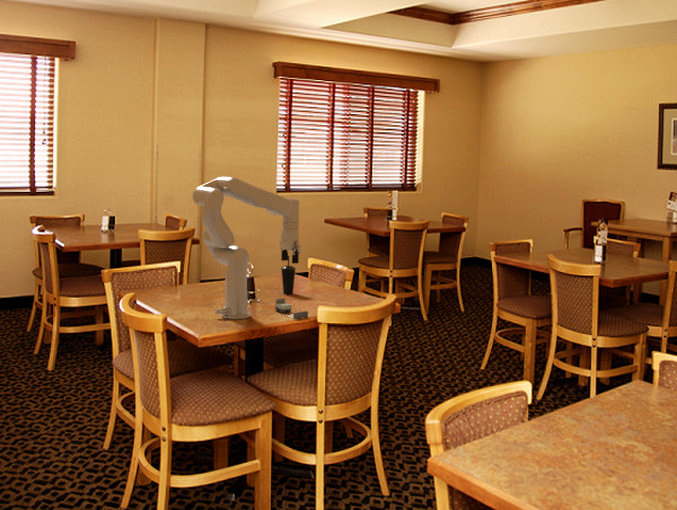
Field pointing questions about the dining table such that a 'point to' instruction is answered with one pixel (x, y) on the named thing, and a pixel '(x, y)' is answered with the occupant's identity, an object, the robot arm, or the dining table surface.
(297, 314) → the dock
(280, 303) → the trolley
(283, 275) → the drinking cup
